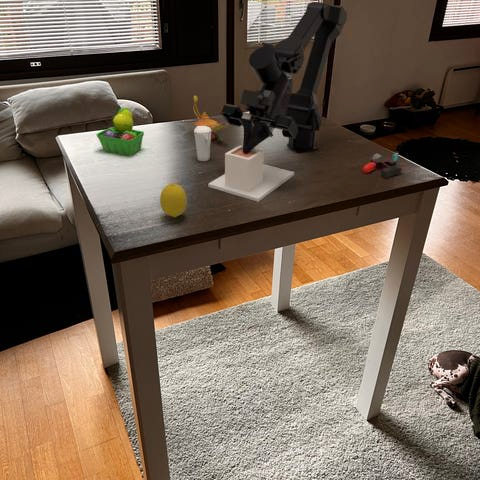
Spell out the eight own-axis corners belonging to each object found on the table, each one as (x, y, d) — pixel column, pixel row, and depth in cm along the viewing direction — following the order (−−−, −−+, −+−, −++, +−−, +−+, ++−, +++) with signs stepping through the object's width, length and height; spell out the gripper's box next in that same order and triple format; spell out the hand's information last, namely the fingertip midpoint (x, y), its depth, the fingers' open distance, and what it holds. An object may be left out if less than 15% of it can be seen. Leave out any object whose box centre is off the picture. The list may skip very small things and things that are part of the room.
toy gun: (377, 159, 133) (380, 143, 130) (405, 176, 123) (409, 159, 121) (348, 164, 129) (350, 147, 127) (374, 182, 120) (378, 164, 117)
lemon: (162, 211, 104) (159, 178, 100) (187, 210, 105) (186, 177, 100) (160, 224, 100) (158, 189, 95) (187, 223, 100) (185, 188, 96)
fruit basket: (97, 152, 133) (91, 112, 127) (115, 141, 140) (110, 103, 134) (132, 158, 130) (127, 117, 124) (149, 147, 137) (145, 108, 131)
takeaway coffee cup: (212, 163, 127) (211, 127, 122) (193, 161, 128) (191, 125, 123) (216, 157, 131) (216, 121, 126) (197, 155, 132) (196, 120, 127)
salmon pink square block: (241, 160, 115) (241, 149, 114) (257, 165, 113) (257, 153, 112) (231, 166, 112) (231, 154, 111) (247, 171, 110) (247, 159, 109)
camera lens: (263, 125, 155) (265, 78, 147) (266, 118, 161) (268, 72, 153) (288, 127, 153) (292, 79, 146) (290, 119, 160) (293, 73, 152)
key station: (247, 162, 128) (248, 131, 123) (294, 175, 122) (296, 142, 117) (208, 186, 115) (207, 152, 110) (258, 201, 109) (259, 166, 104)
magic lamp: (216, 149, 136) (216, 111, 130) (184, 132, 148) (183, 96, 142) (236, 145, 139) (236, 107, 134) (203, 128, 152) (202, 93, 146)
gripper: (224, 68, 110) (197, 128, 108) (296, 80, 102) (268, 145, 100) (242, 95, 120) (217, 150, 118) (309, 108, 112) (283, 167, 110)
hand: (244, 152), depth 111 cm, fingers closed, pressing on salmon pink square block
